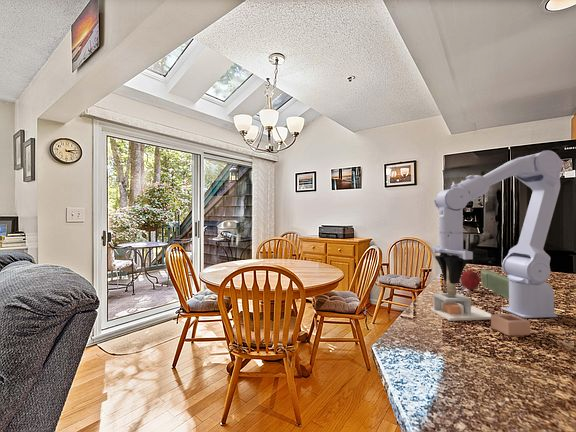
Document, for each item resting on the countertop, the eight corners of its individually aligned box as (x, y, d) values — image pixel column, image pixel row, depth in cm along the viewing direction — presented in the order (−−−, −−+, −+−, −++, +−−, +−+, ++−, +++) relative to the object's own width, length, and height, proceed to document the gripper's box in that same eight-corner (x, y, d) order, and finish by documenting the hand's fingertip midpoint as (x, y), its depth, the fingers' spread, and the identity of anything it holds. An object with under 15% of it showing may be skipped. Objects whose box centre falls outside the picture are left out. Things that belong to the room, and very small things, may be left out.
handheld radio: (490, 286, 112) (531, 306, 87) (480, 287, 112) (518, 306, 88) (489, 269, 112) (530, 284, 87) (479, 269, 112) (517, 284, 88)
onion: (483, 292, 103) (483, 269, 103) (467, 292, 103) (466, 269, 103) (473, 288, 109) (473, 266, 109) (457, 288, 109) (457, 266, 109)
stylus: (452, 293, 82) (452, 262, 82) (458, 295, 79) (457, 264, 79) (444, 293, 81) (444, 262, 81) (450, 295, 79) (449, 264, 79)
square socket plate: (473, 308, 85) (473, 290, 86) (497, 319, 77) (497, 299, 77) (430, 309, 85) (430, 292, 85) (449, 320, 76) (449, 301, 76)
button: (453, 310, 82) (453, 303, 82) (459, 313, 79) (459, 306, 79) (443, 310, 82) (443, 303, 82) (449, 314, 79) (449, 306, 79)
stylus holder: (511, 326, 72) (511, 313, 72) (530, 334, 66) (530, 321, 66) (491, 326, 71) (491, 314, 71) (508, 335, 66) (508, 322, 66)
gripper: (422, 231, 87) (423, 277, 87) (453, 234, 73) (454, 289, 73) (445, 231, 88) (446, 276, 88) (480, 234, 73) (481, 288, 73)
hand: (451, 282), depth 80 cm, fingers closed on stylus, 2 cm apart
